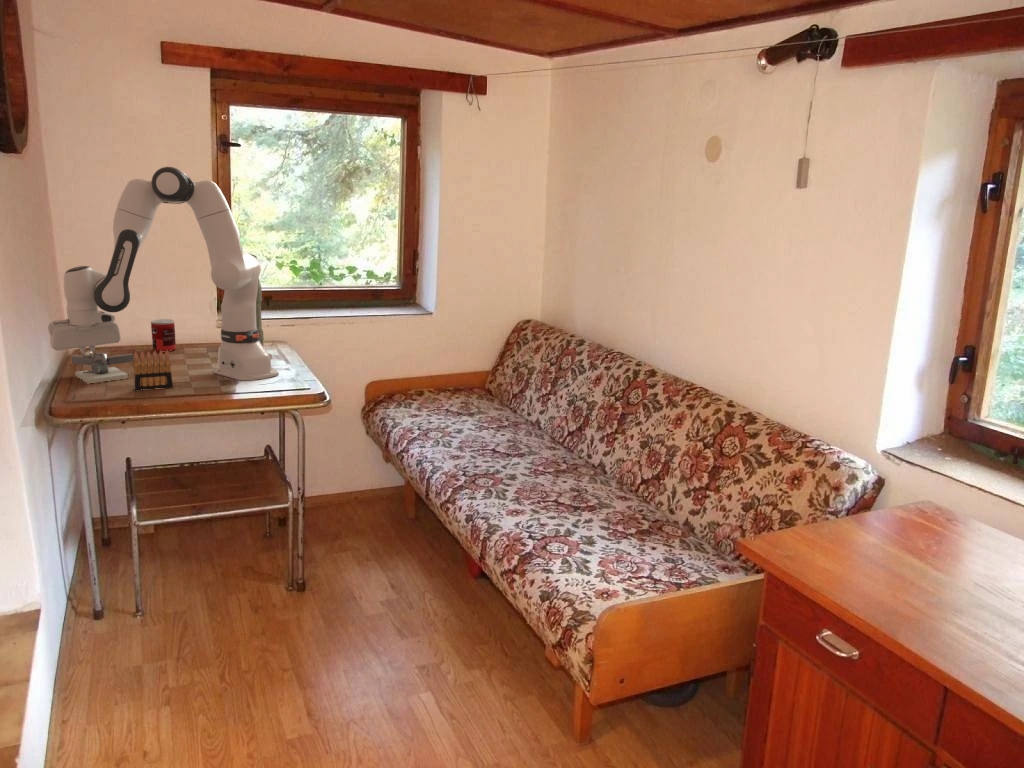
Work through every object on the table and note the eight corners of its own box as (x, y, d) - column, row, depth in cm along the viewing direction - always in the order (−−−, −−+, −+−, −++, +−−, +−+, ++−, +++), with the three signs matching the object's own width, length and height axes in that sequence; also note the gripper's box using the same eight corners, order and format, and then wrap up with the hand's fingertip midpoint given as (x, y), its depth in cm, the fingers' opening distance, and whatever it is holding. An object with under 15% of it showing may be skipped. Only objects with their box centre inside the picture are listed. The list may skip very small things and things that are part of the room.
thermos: (263, 342, 320) (259, 253, 311) (264, 349, 309) (260, 256, 300) (239, 343, 317) (235, 253, 308) (239, 349, 306) (235, 256, 297)
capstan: (136, 367, 268) (134, 347, 266) (97, 380, 250) (95, 359, 249) (94, 363, 271) (92, 343, 269) (53, 375, 254) (51, 354, 252)
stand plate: (128, 378, 261) (127, 373, 260) (88, 384, 252) (87, 379, 252) (115, 371, 269) (114, 366, 268) (75, 376, 261) (75, 371, 260)
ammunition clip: (172, 386, 254) (169, 349, 251) (173, 387, 253) (170, 350, 250) (134, 389, 249) (131, 351, 246) (135, 390, 248) (132, 352, 245)
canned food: (156, 347, 304) (154, 318, 301) (178, 348, 305) (176, 319, 302) (150, 352, 297) (147, 322, 294) (172, 352, 298) (170, 323, 295)
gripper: (50, 323, 250) (56, 366, 254) (119, 315, 264) (124, 356, 267) (44, 320, 254) (50, 362, 258) (113, 312, 268) (117, 353, 272)
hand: (88, 359), depth 263 cm, fingers closed
